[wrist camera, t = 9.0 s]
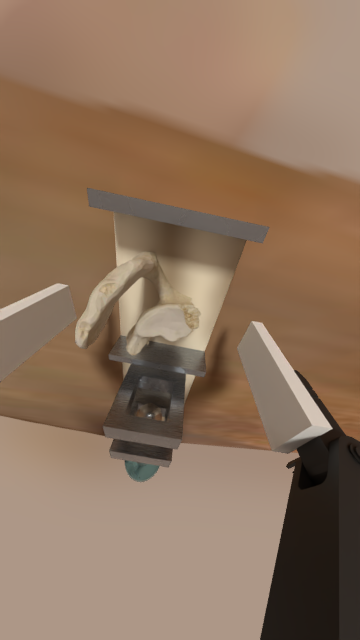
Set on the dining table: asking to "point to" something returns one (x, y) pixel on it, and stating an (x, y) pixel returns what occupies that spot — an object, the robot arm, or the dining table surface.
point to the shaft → (142, 470)
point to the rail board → (177, 273)
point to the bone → (161, 320)
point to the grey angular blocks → (158, 349)
